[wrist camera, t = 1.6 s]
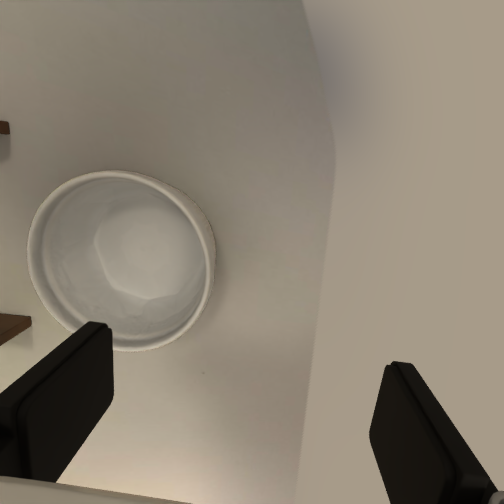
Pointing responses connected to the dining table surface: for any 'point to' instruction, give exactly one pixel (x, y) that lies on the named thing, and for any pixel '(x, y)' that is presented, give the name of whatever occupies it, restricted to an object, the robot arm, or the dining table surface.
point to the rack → (6, 325)
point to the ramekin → (122, 257)
